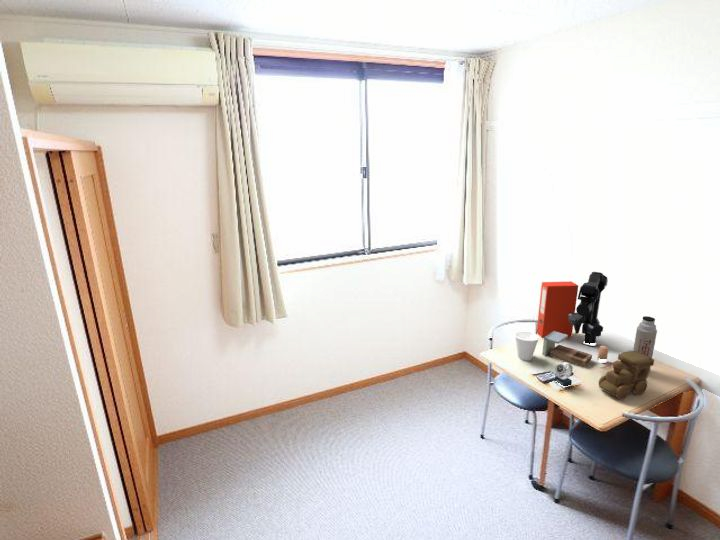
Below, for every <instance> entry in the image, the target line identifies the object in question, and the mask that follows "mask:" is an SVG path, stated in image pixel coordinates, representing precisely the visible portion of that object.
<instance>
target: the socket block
mask: <svg viewBox="0 0 720 540" xmlns="http://www.w3.org/2000/svg"><path fill="white" fill-rule="evenodd" d="M549 357H550V358H554V359H556V360H559V361H563V362H567V363H569V364H571V365H575V366H577V367H581V368H583V369H584V368H585V367H587V365H589V364H590V363H591V362H592V361H591V359H593V354H591V353H587V352H584V351H582V350H578V349H574V348H571V347H569V346H565V345H562V344H557V345H555V348H553V349H552V350H551V352H549ZM590 361H591V362H590Z"/></svg>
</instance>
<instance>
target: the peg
mask: <svg viewBox="0 0 720 540" xmlns="http://www.w3.org/2000/svg"><path fill="white" fill-rule="evenodd" d="M609 349H610V348H609V347H608V346H605V345H600V346H599V347H598V354H597V359H598V358H600V359H607V360H608V354H609Z"/></svg>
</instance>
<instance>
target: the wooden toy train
mask: <svg viewBox="0 0 720 540" xmlns="http://www.w3.org/2000/svg"><path fill="white" fill-rule="evenodd" d="M654 362H655V359H654V358H653V357H652V358H650V357H649V356H646V355H644V354H642V353H640V352H637V351H633V350H627V351H624V352H620V353H618V356H617V360H615V361H613V362H612V363H611V366H612V368H613V369H611V370H608V371H606V374H604V375H602V376H601V377H600V379H599V380H598V387H599V388H600V389H602V390H603V391H605V392H606V393H608V394H610V395H612V396H616V398H617V399H618V400H621V401H622V400H626V398H627V397H629V395H630V393H631V392H632V391H633V393H634V394H635V395H638V396H639V395H643V394H644V393H646V392H647V389H648V380H647V379H648V375H649V374H650V372H649V370H650V371H651V367H652V366H654V364H655V363H654ZM650 366H651V367H650ZM648 373H649V374H648Z"/></svg>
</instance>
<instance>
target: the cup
mask: <svg viewBox="0 0 720 540" xmlns="http://www.w3.org/2000/svg"><path fill="white" fill-rule="evenodd" d="M514 337H515V338H514V339H515V344H516V345H515V346H516V352H517V353H516V354H517V357H518V359H520V360H522V361H531V360H532V359H533V355H534V353H535V350H536V347H537V345H538V341H539V339H540V335H539V334H536V333H534V332H531V331H525V330H523V331H522V330H521V331H517V332H515V333H514Z"/></svg>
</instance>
